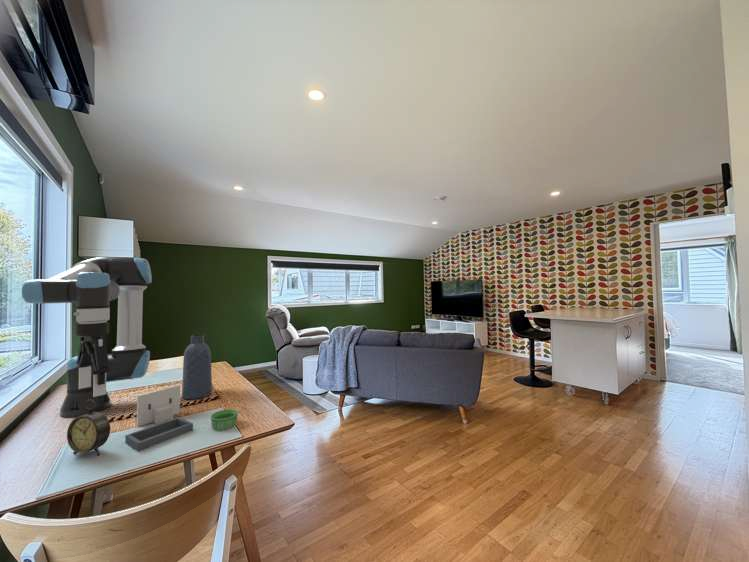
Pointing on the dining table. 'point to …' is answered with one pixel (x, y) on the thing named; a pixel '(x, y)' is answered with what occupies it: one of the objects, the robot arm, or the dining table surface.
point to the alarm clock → (88, 432)
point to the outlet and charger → (158, 405)
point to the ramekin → (224, 419)
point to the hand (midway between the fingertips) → (91, 391)
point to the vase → (197, 369)
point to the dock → (158, 433)
